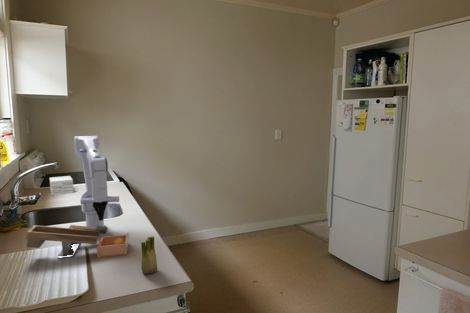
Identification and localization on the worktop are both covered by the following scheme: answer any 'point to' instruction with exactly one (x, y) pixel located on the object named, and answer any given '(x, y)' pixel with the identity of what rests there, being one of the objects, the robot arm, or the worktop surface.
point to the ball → (118, 241)
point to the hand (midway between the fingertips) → (101, 219)
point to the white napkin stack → (61, 185)
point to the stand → (67, 249)
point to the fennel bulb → (148, 256)
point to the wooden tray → (63, 234)
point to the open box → (112, 246)
